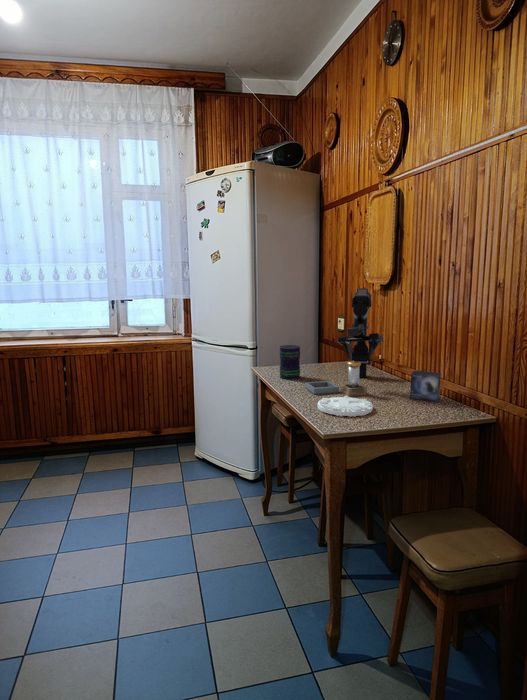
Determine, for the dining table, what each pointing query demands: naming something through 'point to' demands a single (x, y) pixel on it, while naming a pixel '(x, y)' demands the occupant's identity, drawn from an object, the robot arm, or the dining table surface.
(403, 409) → the dining table surface
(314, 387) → the tray
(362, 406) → the giant coin
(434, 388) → the small box
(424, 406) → the dining table surface
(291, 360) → the storage jar
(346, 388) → the socket block
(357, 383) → the pin
